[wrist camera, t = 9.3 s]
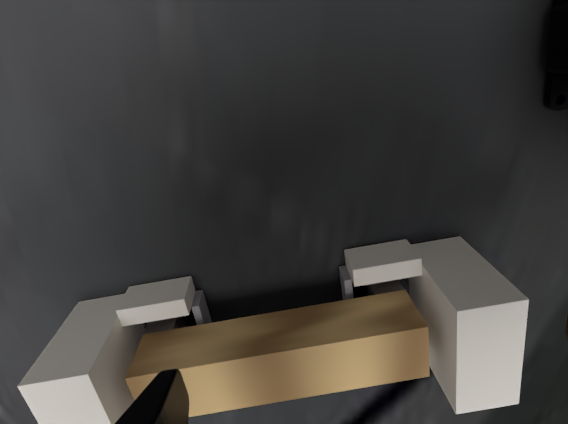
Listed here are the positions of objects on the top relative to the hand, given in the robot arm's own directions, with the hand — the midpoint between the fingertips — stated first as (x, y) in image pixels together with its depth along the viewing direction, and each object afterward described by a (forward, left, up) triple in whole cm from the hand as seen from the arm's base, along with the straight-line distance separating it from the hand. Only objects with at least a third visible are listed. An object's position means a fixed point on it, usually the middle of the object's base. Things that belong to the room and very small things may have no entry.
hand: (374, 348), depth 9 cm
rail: (+3, +8, -12) cm, 14 cm away
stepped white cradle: (+3, +8, -12) cm, 14 cm away
